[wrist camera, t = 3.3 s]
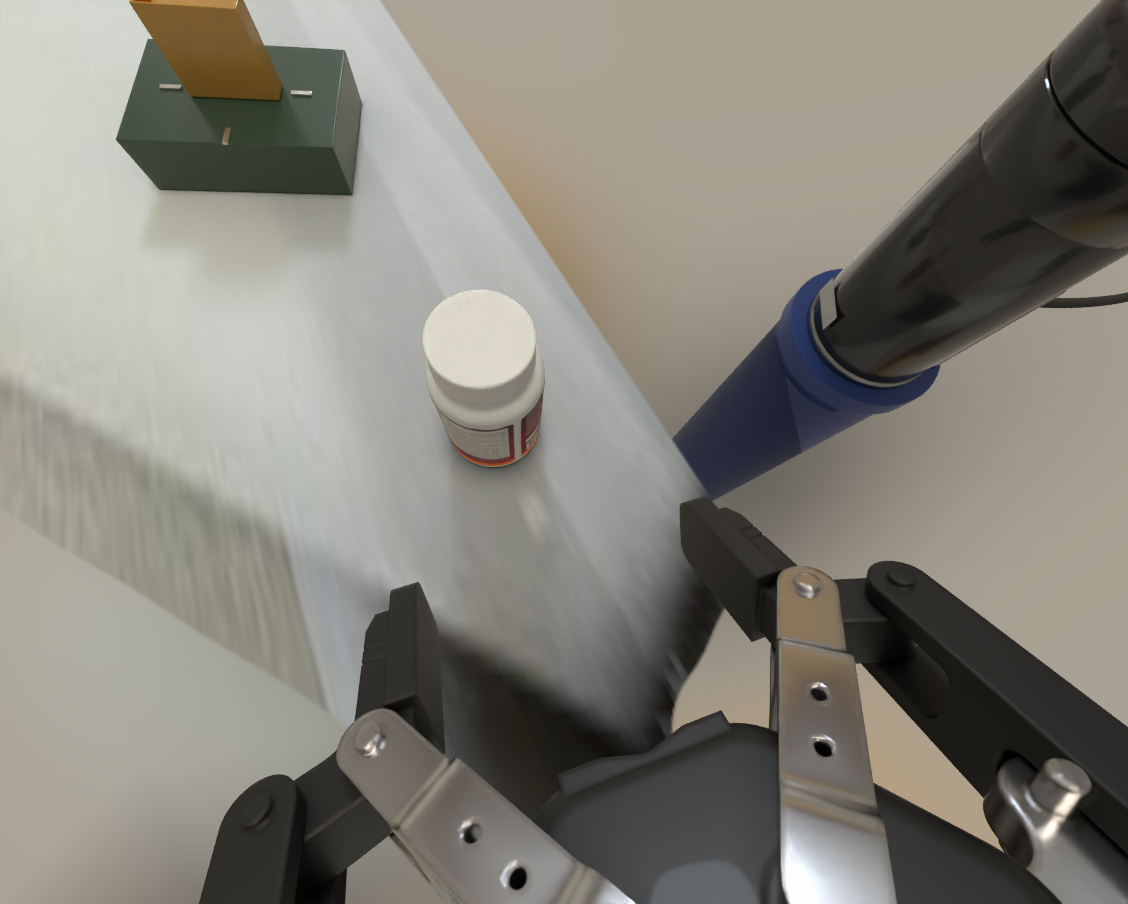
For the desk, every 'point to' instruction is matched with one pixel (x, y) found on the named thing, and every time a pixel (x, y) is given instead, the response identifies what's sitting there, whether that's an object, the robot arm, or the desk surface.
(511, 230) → the desk surface
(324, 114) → the dark green block
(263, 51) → the mustard yellow slab
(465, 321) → the pill bottle
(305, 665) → the desk surface
